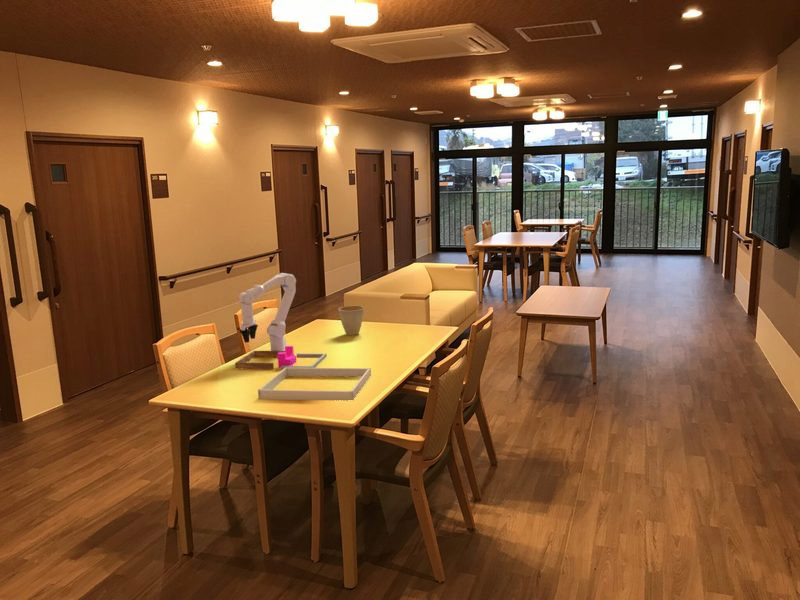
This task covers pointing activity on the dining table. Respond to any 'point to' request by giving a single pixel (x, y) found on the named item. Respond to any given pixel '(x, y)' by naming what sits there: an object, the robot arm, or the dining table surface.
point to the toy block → (286, 357)
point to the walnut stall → (244, 365)
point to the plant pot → (351, 319)
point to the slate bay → (308, 356)
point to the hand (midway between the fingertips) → (249, 340)
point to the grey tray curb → (268, 393)
